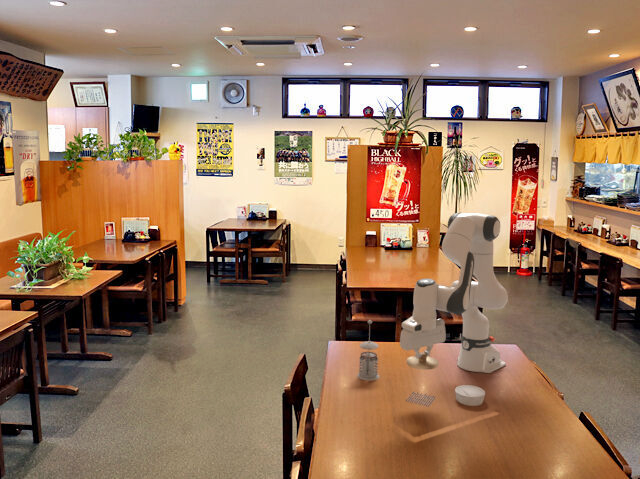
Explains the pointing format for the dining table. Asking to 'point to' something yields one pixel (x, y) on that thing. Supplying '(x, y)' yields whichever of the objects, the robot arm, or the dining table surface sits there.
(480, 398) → the ramekin
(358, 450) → the dining table surface
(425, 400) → the woven mat
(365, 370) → the french press
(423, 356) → the drop lid
